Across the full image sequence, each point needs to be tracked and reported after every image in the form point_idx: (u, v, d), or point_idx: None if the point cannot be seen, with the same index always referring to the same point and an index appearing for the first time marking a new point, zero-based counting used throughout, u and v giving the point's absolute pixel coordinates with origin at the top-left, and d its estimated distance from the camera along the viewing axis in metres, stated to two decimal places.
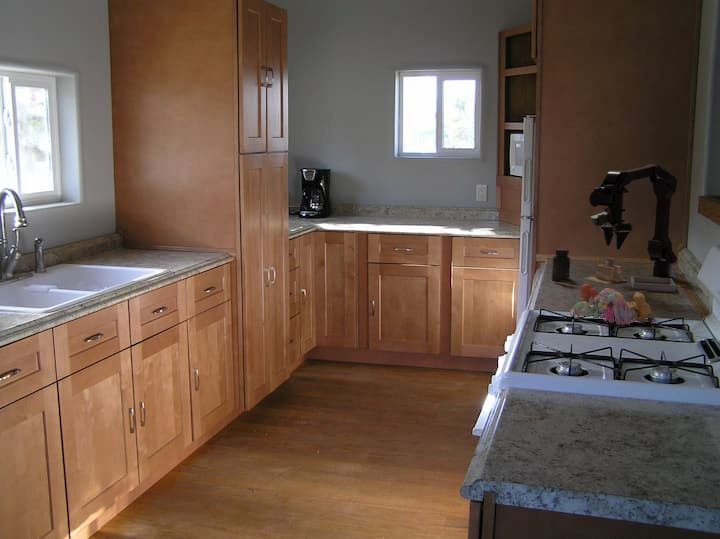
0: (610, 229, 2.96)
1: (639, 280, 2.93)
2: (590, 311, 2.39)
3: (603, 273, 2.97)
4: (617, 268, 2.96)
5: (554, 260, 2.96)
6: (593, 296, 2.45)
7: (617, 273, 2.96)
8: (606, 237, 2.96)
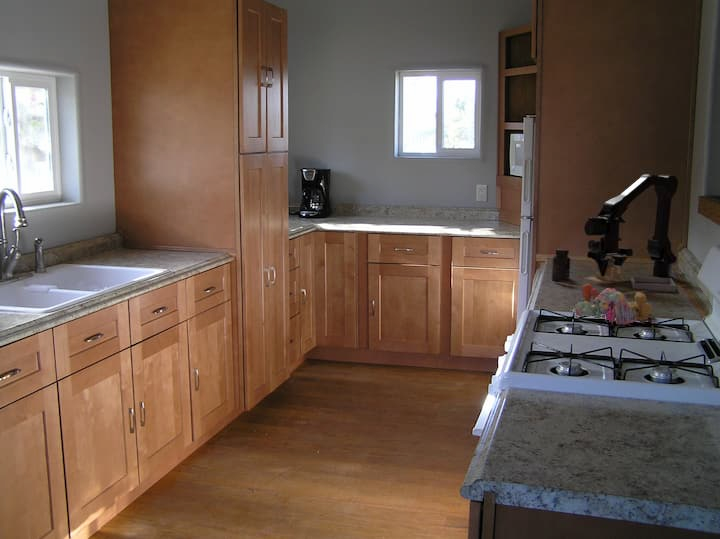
0: (618, 259, 2.99)
1: (639, 280, 2.93)
2: (591, 311, 2.39)
3: None
4: (617, 268, 2.96)
5: (554, 260, 2.96)
6: (594, 296, 2.45)
7: (617, 273, 2.96)
8: None
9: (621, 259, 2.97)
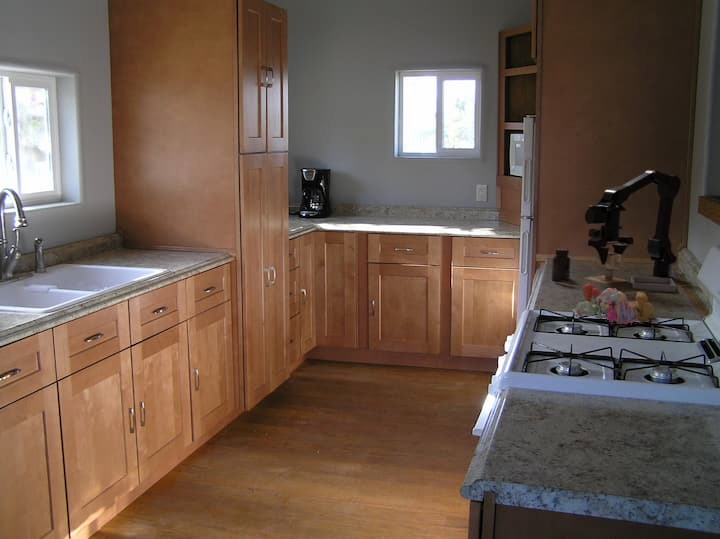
0: (619, 247, 2.98)
1: (639, 280, 2.93)
2: (592, 311, 2.39)
3: None
4: (618, 256, 2.95)
5: (554, 260, 2.96)
6: (595, 296, 2.45)
7: (618, 261, 2.95)
8: None
9: (622, 247, 2.97)
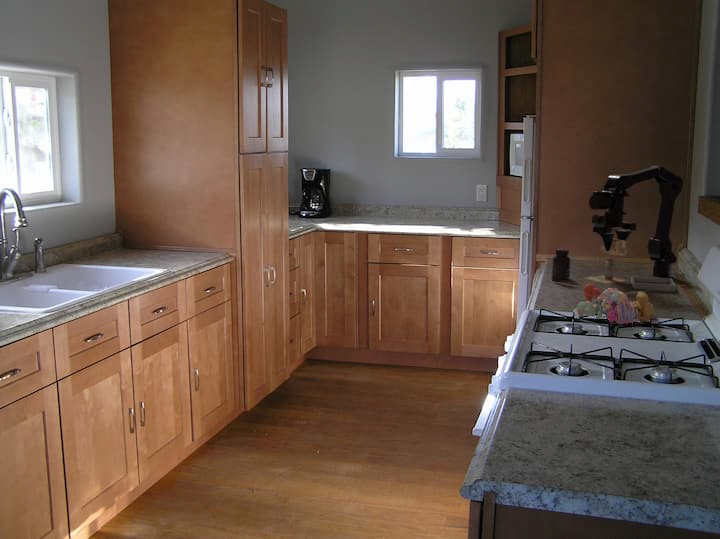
0: (622, 233, 2.96)
1: (639, 280, 2.93)
2: (593, 311, 2.39)
3: None
4: (622, 242, 2.93)
5: (554, 260, 2.96)
6: (596, 296, 2.45)
7: (622, 247, 2.94)
8: None
9: (625, 233, 2.95)
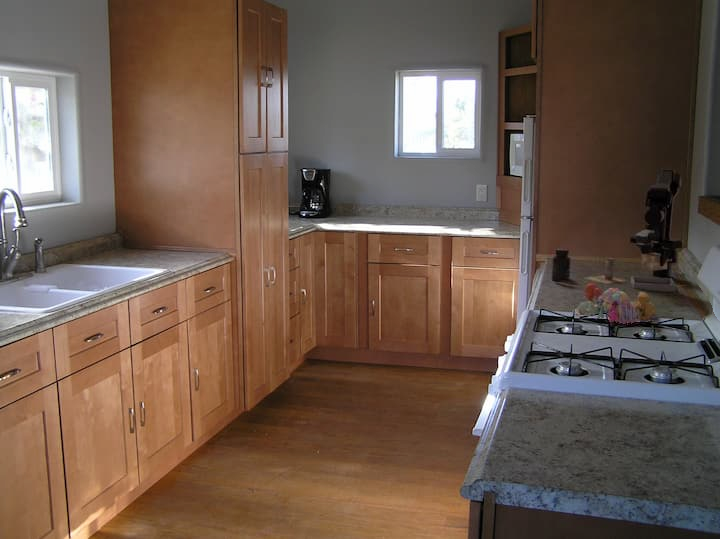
0: (648, 246, 2.88)
1: (639, 280, 2.93)
2: (594, 311, 2.39)
3: None
4: None
5: (554, 260, 2.96)
6: (597, 296, 2.45)
7: None
8: None
9: (650, 246, 2.88)
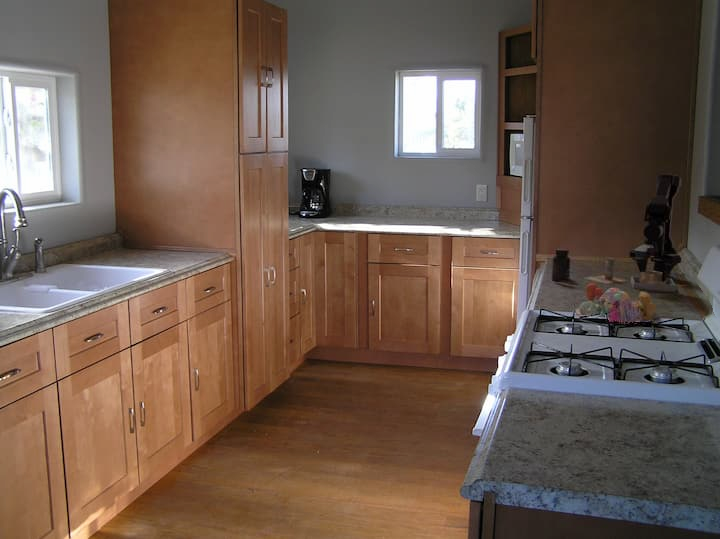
0: (644, 260, 2.90)
1: (639, 280, 2.93)
2: (596, 310, 2.40)
3: (660, 281, 2.83)
4: None
5: (554, 260, 2.96)
6: (598, 295, 2.46)
7: None
8: (641, 269, 2.89)
9: (646, 260, 2.90)
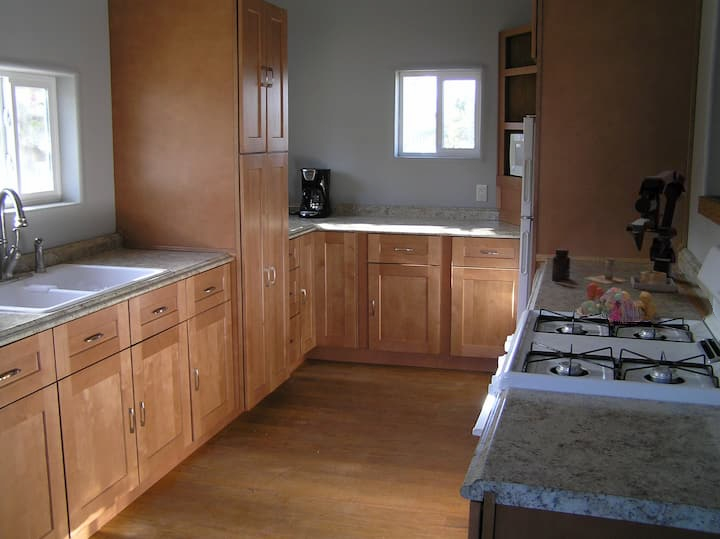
0: (641, 234, 2.96)
1: (639, 280, 2.93)
2: (597, 310, 2.40)
3: (660, 281, 2.83)
4: None
5: (554, 260, 2.96)
6: (599, 295, 2.46)
7: None
8: (638, 243, 2.95)
9: (643, 233, 2.97)
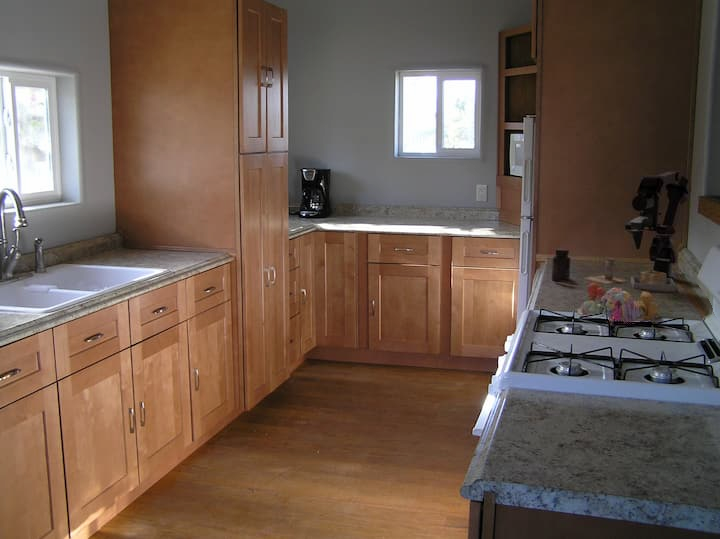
0: (639, 233, 2.98)
1: (639, 280, 2.93)
2: (598, 310, 2.40)
3: (660, 281, 2.83)
4: None
5: (554, 260, 2.96)
6: (600, 295, 2.46)
7: None
8: (637, 241, 2.97)
9: (642, 232, 2.98)
